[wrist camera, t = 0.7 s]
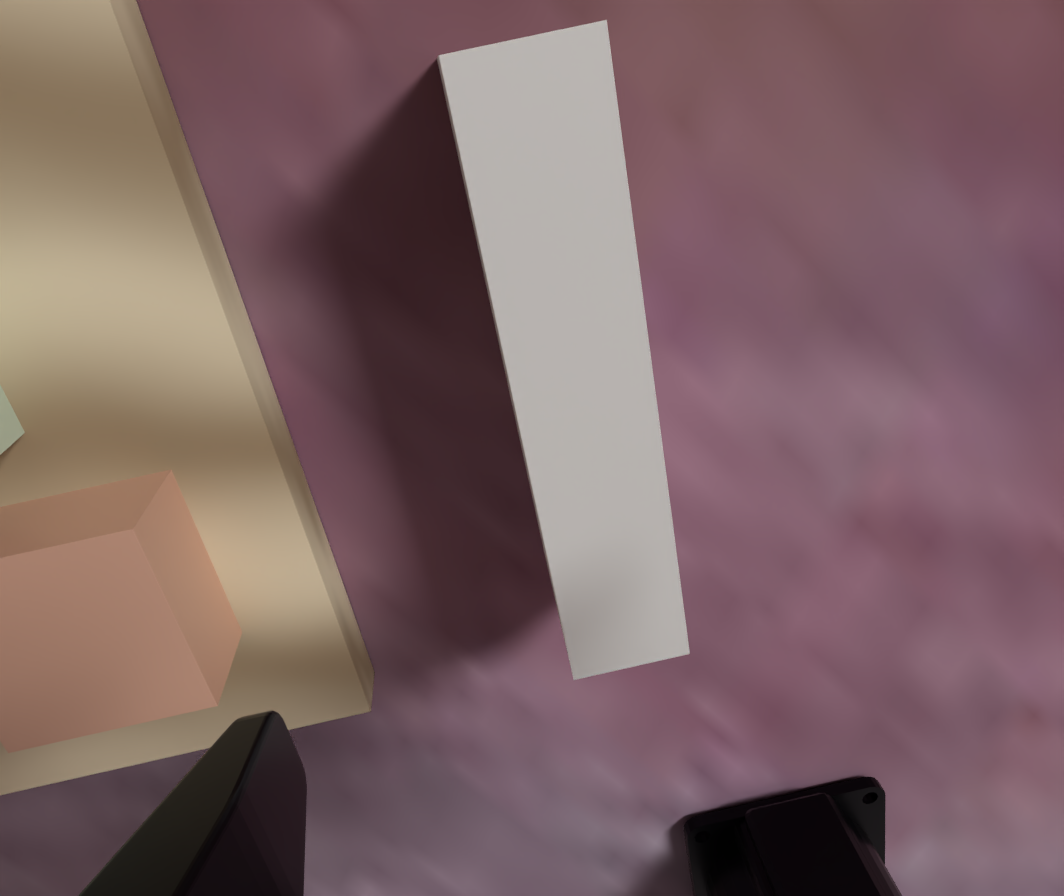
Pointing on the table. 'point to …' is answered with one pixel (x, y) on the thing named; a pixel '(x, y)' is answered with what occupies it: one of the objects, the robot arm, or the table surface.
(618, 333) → the long grey plank
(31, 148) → the board
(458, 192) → the table surface
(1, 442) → the tile
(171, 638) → the tile
